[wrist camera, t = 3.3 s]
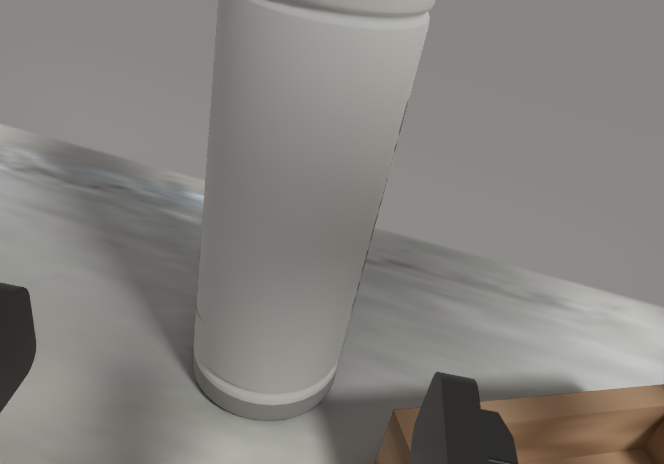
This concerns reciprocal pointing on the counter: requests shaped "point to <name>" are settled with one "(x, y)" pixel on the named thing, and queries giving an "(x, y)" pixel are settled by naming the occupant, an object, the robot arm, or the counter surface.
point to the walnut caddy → (563, 428)
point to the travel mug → (295, 189)
